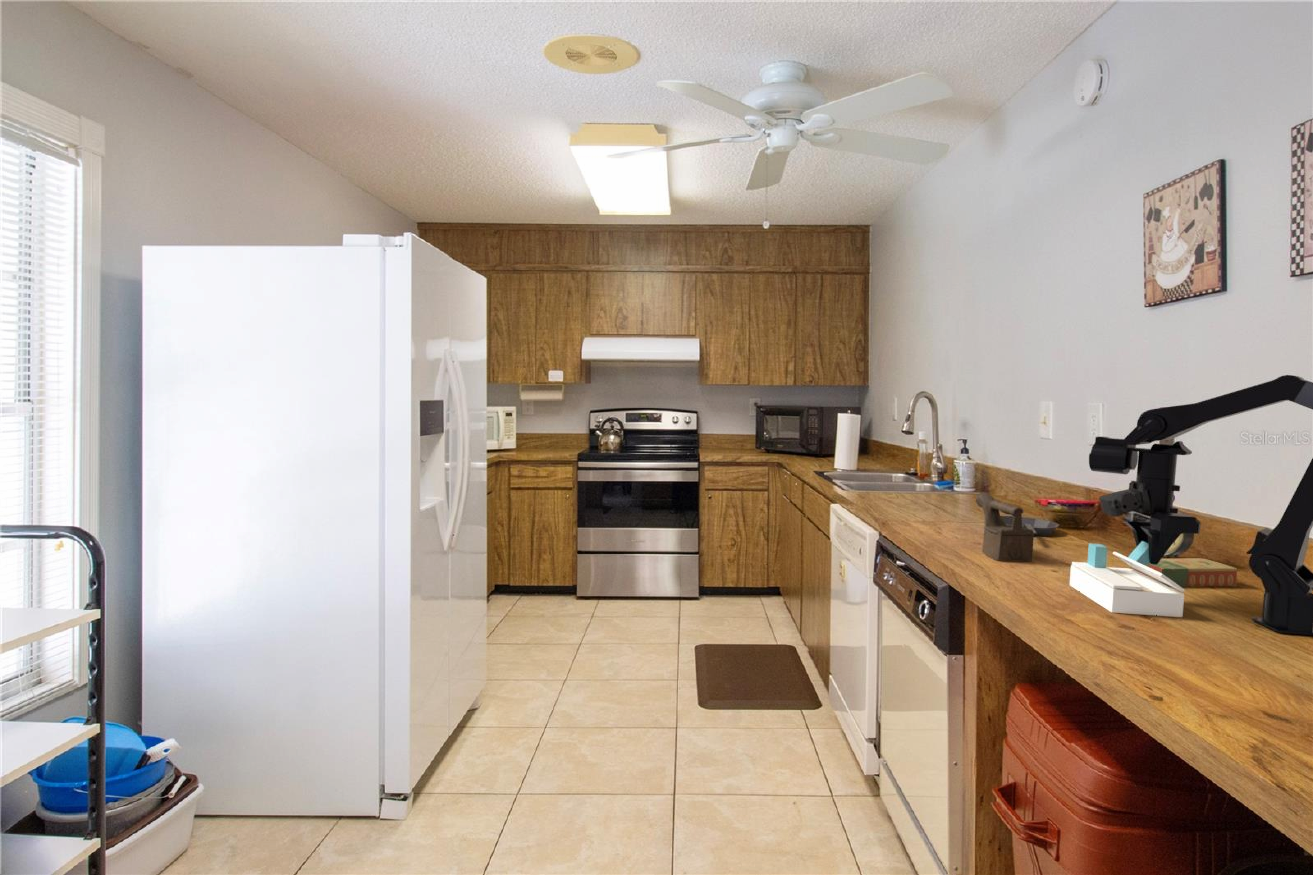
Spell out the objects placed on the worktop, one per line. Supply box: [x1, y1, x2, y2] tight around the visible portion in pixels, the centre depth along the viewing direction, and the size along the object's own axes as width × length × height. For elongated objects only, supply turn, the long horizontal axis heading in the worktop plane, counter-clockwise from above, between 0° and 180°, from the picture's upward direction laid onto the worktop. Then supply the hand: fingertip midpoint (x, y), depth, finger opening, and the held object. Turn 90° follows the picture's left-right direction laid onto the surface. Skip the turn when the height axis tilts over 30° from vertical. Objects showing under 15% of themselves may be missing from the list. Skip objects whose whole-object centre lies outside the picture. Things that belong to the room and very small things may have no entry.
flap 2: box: [1112, 541, 1186, 593], centre depth 126 cm, size 17×4×4 cm
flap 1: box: [1071, 542, 1143, 590], centre depth 127 cm, size 17×4×4 cm, turn 171°
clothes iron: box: [975, 491, 1035, 562], centre depth 161 cm, size 8×16×13 cm, turn 1°
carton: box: [1130, 557, 1238, 588], centre depth 142 cm, size 8×16×4 cm, turn 94°
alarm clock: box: [1162, 494, 1195, 558], centre depth 159 cm, size 11×5×16 cm, turn 25°
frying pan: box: [1000, 515, 1060, 537], centre depth 184 cm, size 18×32×4 cm, turn 159°
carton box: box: [1069, 564, 1185, 618], centre depth 127 cm, size 17×11×4 cm, turn 171°
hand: (1148, 561), depth 128 cm, fingers closed on flap 2, 3 cm apart
